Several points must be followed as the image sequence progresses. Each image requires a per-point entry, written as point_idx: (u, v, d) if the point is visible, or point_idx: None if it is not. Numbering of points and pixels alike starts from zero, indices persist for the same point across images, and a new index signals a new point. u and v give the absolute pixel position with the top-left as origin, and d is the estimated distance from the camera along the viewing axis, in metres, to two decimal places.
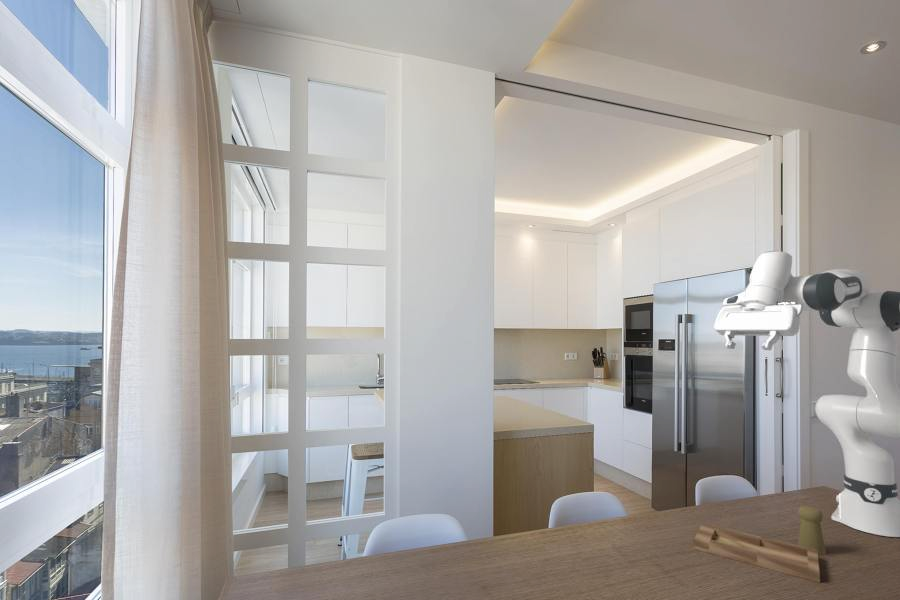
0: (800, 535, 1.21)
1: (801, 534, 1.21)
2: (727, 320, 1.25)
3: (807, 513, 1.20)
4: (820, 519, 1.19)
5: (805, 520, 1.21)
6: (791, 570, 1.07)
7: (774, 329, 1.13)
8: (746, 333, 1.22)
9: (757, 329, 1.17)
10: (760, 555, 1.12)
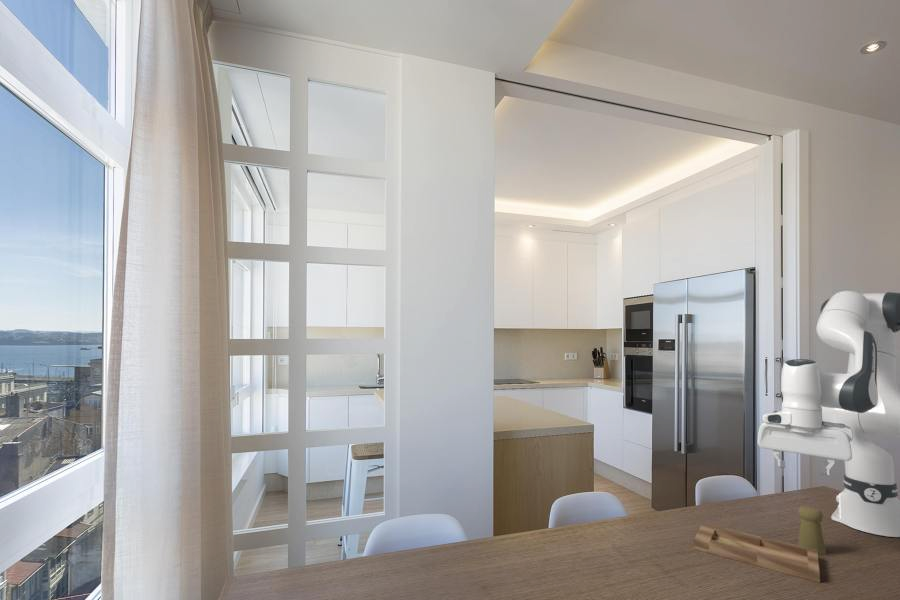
0: (800, 535, 1.21)
1: (801, 534, 1.21)
2: (773, 439, 1.25)
3: (807, 513, 1.20)
4: (820, 519, 1.19)
5: (805, 520, 1.21)
6: (791, 570, 1.07)
7: (833, 458, 1.17)
8: None
9: (813, 455, 1.19)
10: (760, 555, 1.12)
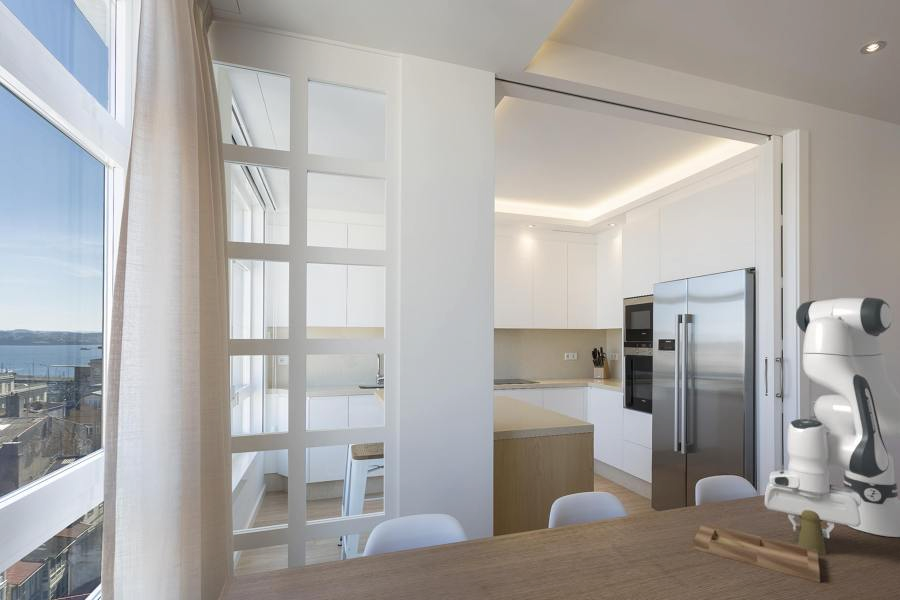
0: (800, 535, 1.21)
1: (801, 534, 1.21)
2: (780, 501, 1.24)
3: (807, 513, 1.20)
4: None
5: (805, 520, 1.21)
6: (791, 570, 1.07)
7: (841, 523, 1.16)
8: None
9: (821, 519, 1.19)
10: (760, 555, 1.12)
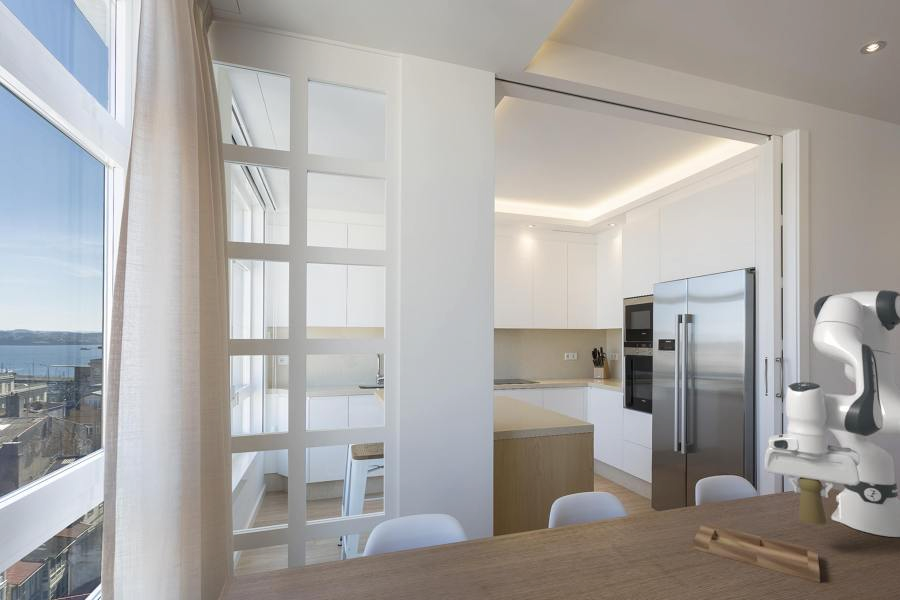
0: (800, 505, 1.22)
1: (801, 504, 1.22)
2: (780, 464, 1.25)
3: (807, 484, 1.20)
4: (820, 489, 1.20)
5: (805, 491, 1.21)
6: (791, 570, 1.07)
7: (841, 483, 1.17)
8: None
9: None
10: (760, 555, 1.12)
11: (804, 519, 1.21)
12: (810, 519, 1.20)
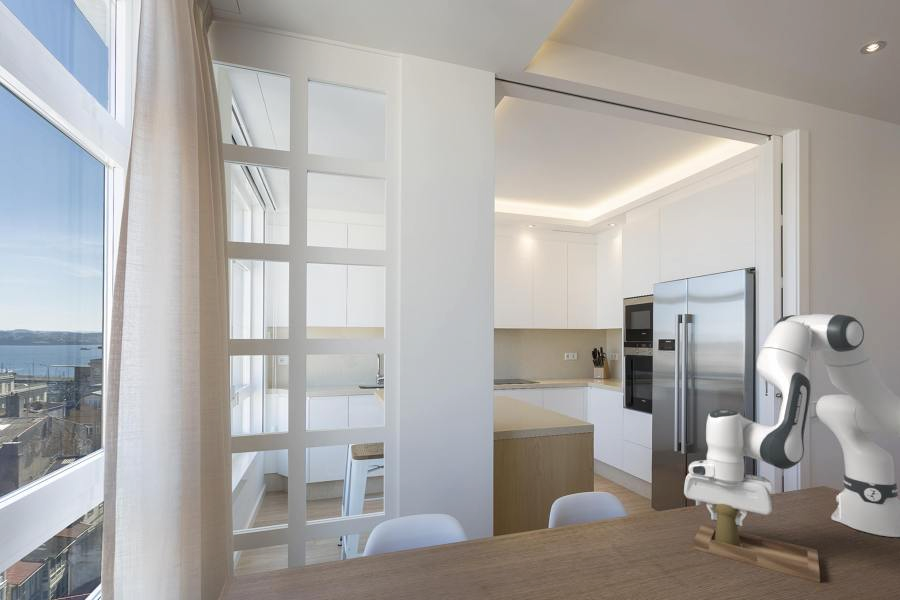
0: (716, 529, 1.22)
1: (717, 528, 1.21)
2: (698, 490, 1.25)
3: (722, 508, 1.20)
4: (735, 513, 1.19)
5: (720, 515, 1.21)
6: (791, 570, 1.07)
7: (754, 512, 1.17)
8: None
9: (735, 508, 1.20)
10: (760, 555, 1.12)
11: None
12: None
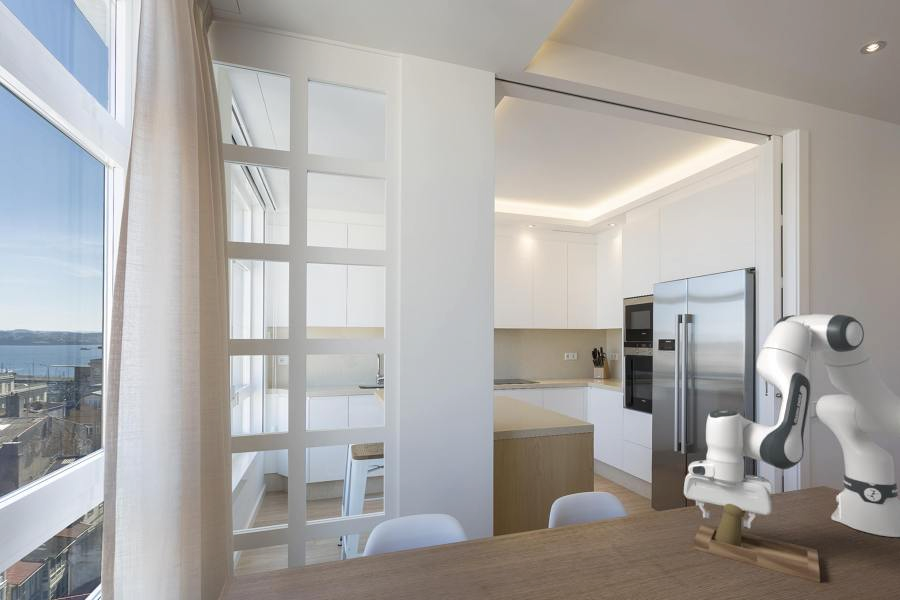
0: (719, 527, 1.22)
1: (721, 526, 1.21)
2: (698, 490, 1.25)
3: (730, 507, 1.19)
4: (742, 515, 1.18)
5: (727, 514, 1.20)
6: (791, 570, 1.07)
7: (753, 512, 1.17)
8: None
9: None
10: (760, 555, 1.12)
11: (719, 540, 1.20)
12: (725, 542, 1.19)
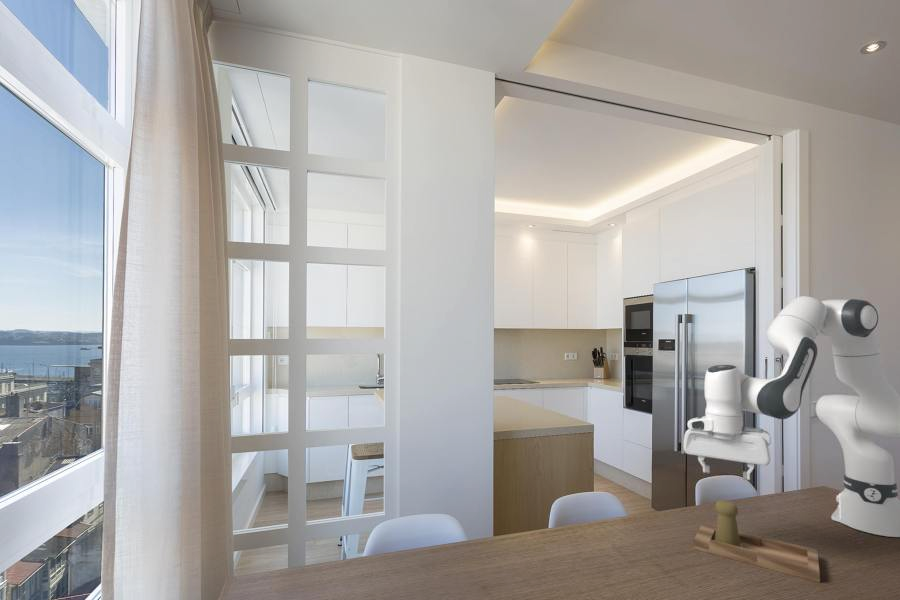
0: (716, 529, 1.22)
1: (717, 528, 1.21)
2: (697, 445, 1.26)
3: (723, 508, 1.20)
4: (735, 513, 1.19)
5: (720, 515, 1.21)
6: (791, 570, 1.07)
7: (752, 463, 1.18)
8: None
9: (734, 460, 1.21)
10: (760, 555, 1.12)
11: None
12: None
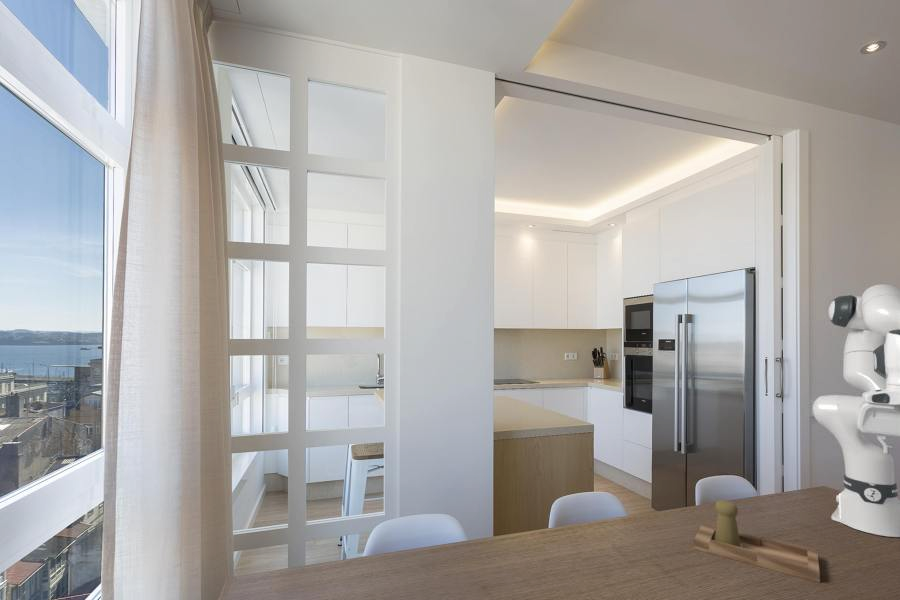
0: (716, 529, 1.22)
1: (717, 528, 1.21)
2: (878, 422, 1.08)
3: (723, 508, 1.20)
4: (735, 513, 1.19)
5: (720, 515, 1.21)
6: (791, 570, 1.07)
7: None
8: None
9: None
10: (760, 555, 1.12)
11: None
12: None
